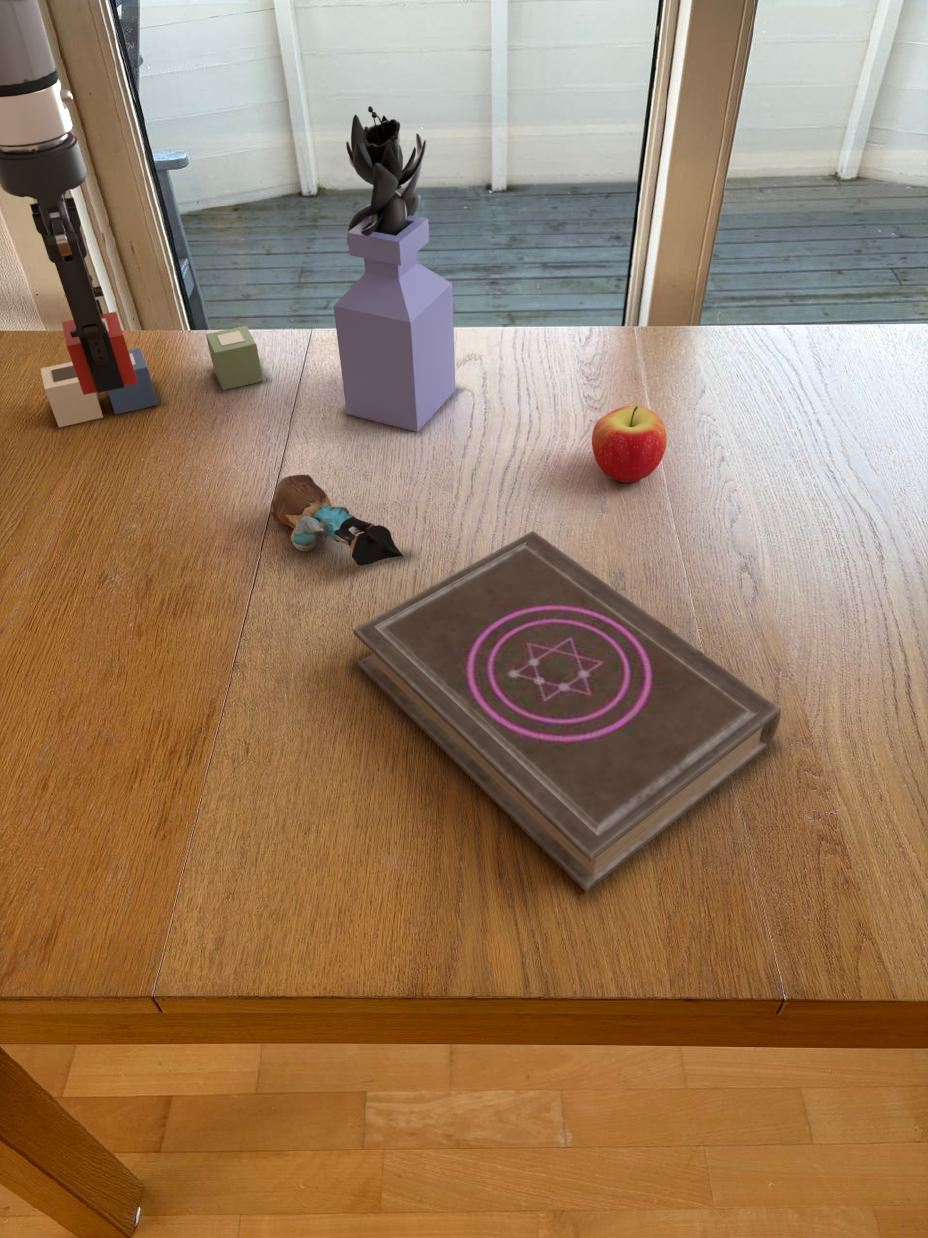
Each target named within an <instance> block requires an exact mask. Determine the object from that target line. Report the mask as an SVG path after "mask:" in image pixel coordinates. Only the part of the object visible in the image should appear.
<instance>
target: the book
mask: <svg viewBox="0 0 928 1238" xmlns="http://www.w3.org/2000/svg"><path fill="white" fill-rule="evenodd" d="M352 634H353V635H354V636H355V637H356V638H357V639H358V640H359V641H360V642H361V643H362V644H364V645H365V647H367V648H368V649H369V650H370V654H369V655H368V656H366V657H364V658H363V659H360V660H359V661H357V666H358V667H359V669H361V670H362V671H363V673H364V674H366V676H368V677H369V678H370V679H371V680H372V681H373V682H374V683H375V684H376V685H377V686H378V687H379V688H380V689H381V691H383V692H384V693H385V694H386V696H388V697H389V698H390V699H391V700H392V701H393V702H394V703H395V704H396V705H397V706H398V707H399V708H400V709H401V710H402V711H403V712H404V713H405V714H406V715H407V716H408V717H409V718H410V719H411V720H412V721H413V722H414V723H415V724H416V725H417V726H419V728H420V729H421V730H422V731H423V732H424V733H425V734H426V735H428V737H429V738H430V739H431V740H432V741H433V742H434V743H435V744H436V745H437V746H438V747H440V749H441V750H442V751H443V752H445V754H446V755H447V756H449V758H450V759H451V760H452V761H453V762H454V763H455V764H456V765H457V766H459V768H460V769H461V770H462V771H463V772H464V773H466V775H467V776H469V777H470V779H471V780H473V782H474V783H475V784H476V785H477V786H479V787H480V789H481V790H482V791H484V792H485V794H486V795H488V796H489V797H490V799H491V800H493V802H495V803H496V805H498V807H500V809H502V810H503V811H504V812H505V814H506V815H508V816H509V818H511V819H512V820H513V822H514V823H516V824H517V825H518V826H519V828H521V829H522V830H523V831H524V832H525V833H526V835H528V836H529V837H530V839H532V840H533V841H534V843H536V844H537V846H539V847H540V848H541V849H542V850H543V851H544V852H545V854H547V855H548V856H549V857H550V858H551V859H552V860H553V862H555V864H557V865H558V866H559V867H560V868H561V869H562V870H563V871H564V872H565V873H566V874H567V875H568V876H569V877H570V878H571V879H572V881H574V882H575V883H576V884H577V885H578V886H579V887H580V888H581V889H582V890H583V891H584V892H585V893H587V892H589V891H590V890H592V888H594V887H595V886H596V885H598V883H600V882H601V881H602V880H604V879H605V878H606V877H607V876H609V875H610V874H611V873H612V872H614V871H615V870H616V869H618V868H619V867H620V866H621V865H623V864H624V863H625V862H626V861H627V860H628V859H630V858H632V857H633V856H634V855H635V854H636V853H637V852H638V851H640V850H642V848H643V847H645V846H646V845H647V844H648V843H650V842H651V841H652V840H653V839H655V838H656V837H657V836H659V835H660V834H661V833H663V831H664V830H666V829H667V828H669V827H670V826H671V825H672V824H674V823H675V822H676V821H677V820H679V819H680V818H681V817H682V816H684V815H685V814H686V813H687V812H688V811H690V810H691V809H692V808H693V807H695V806H696V805H697V804H698V803H700V802H701V801H702V800H703V799H704V798H706V797H707V796H709V795H710V794H711V793H712V792H713V791H715V790H716V789H717V788H719V787H720V786H721V785H722V784H724V783H725V782H726V781H727V780H728V779H730V778H731V777H732V776H733V775H734V774H736V773H737V772H738V771H740V770H741V769H742V768H743V767H745V766H746V765H747V764H748V763H749V762H751V761H752V760H754V759H755V758H756V757H757V756H758V755H760V754H761V753H762V752H763V751H764V750H766V749H767V748H768V747H770V745H771V742H772V740H773V739H774V737H775V734H776V732H777V730H778V727H779V725H780V720H781V717H782V715H781V713H782V710H781V709H782V708H781V707H779V706H778V705H777V704H775V703H774V702H773V701H771V700H770V699H768V698H767V697H765V696H764V695H763V694H762V693H760V692H758V691H757V690H756V689H755V688H753V687H752V686H750V685H749V684H747V683H746V682H744V681H743V680H742V679H740V678H739V677H738V676H736V675H735V674H733V673H732V672H731V671H730V670H728V669H726V668H725V667H724V666H722V665H721V664H720V663H718V662H717V661H715V660H714V659H713V658H711V657H710V656H709V655H707V654H706V653H705V652H703V651H702V650H700V649H699V648H698V647H696V646H695V645H693V644H692V643H690V642H689V641H687V640H686V639H685V638H683V637H682V636H680V635H679V634H678V633H676V631H673V630H672V628H669V627H668V626H667V625H666V624H664V623H662V622H661V621H659V620H658V618H656V617H654V616H652V615H651V614H650V613H648V612H647V611H646V610H644V609H643V608H642V607H640V605H638V604H636V603H635V602H633V601H632V600H631V599H629V598H628V597H626V596H625V595H624V594H622V593H621V592H619V591H618V590H617V589H615V588H614V587H613V586H611V585H610V584H608V583H607V582H605V581H604V580H602V579H601V578H600V577H599V576H597V575H595V574H594V573H593V572H592V571H590V570H588V569H587V568H586V567H585V566H583V565H582V564H580V563H579V562H578V561H576V560H575V559H573V558H572V557H571V556H570V555H568V554H567V553H565V552H564V551H562V550H561V549H559V548H558V547H557V546H555V545H554V544H552V543H551V542H550V541H549V540H547V539H546V538H544V537H543V536H541V535H540V534H539V533H538V532H536V531H534V530H532V531H530V532H528V533H526V534H525V535H522V536H520V537H519V538H517V539H515V540H513V541H511V542H510V543H508V544H506V545H504V546H502V547H500V548H499V549H497V550H495V551H493V552H492V553H490V554H487V555H486V556H485V557H483V558H481V559H479V560H477V561H475V562H473V563H472V564H470V565H468V566H466V567H464V568H463V569H461V570H459V571H457V572H455V573H453V574H452V575H450V576H448V577H446V578H444V579H442V580H441V581H439V582H437V583H435V584H433V585H432V586H430V587H428V588H426V589H424V590H423V591H420V592H419V593H417V594H415V595H413V596H412V597H410V598H407V599H406V600H404V601H402V602H400V603H399V604H397V605H395V606H394V607H391V608H390V609H388V610H386V611H384V612H383V613H381V614H379V615H377V616H375V617H374V618H372V619H370V620H368V621H366V622H364V623H363V624H361V625H359V626H358V627H355V628H353V629H352Z"/></svg>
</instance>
